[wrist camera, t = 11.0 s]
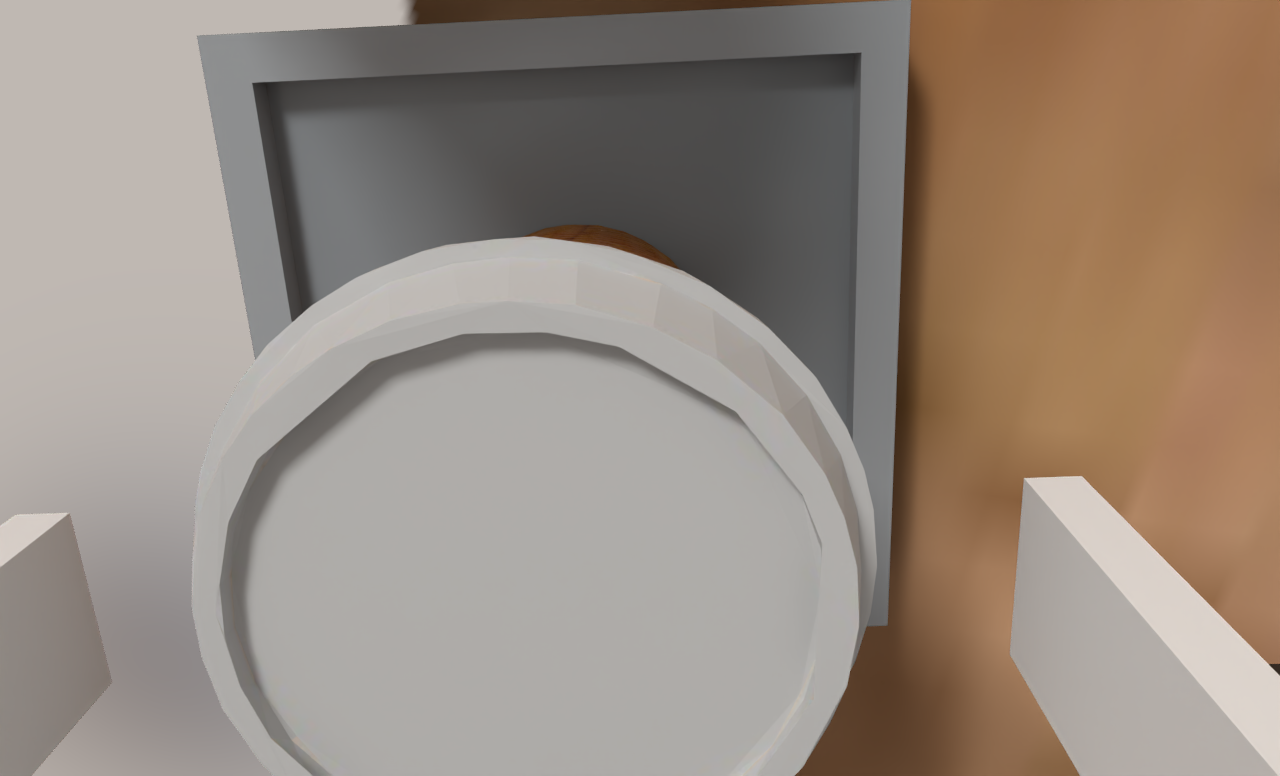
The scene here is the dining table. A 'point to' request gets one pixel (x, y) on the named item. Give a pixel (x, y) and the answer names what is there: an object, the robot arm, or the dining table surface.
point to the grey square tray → (595, 167)
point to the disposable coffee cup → (531, 526)
